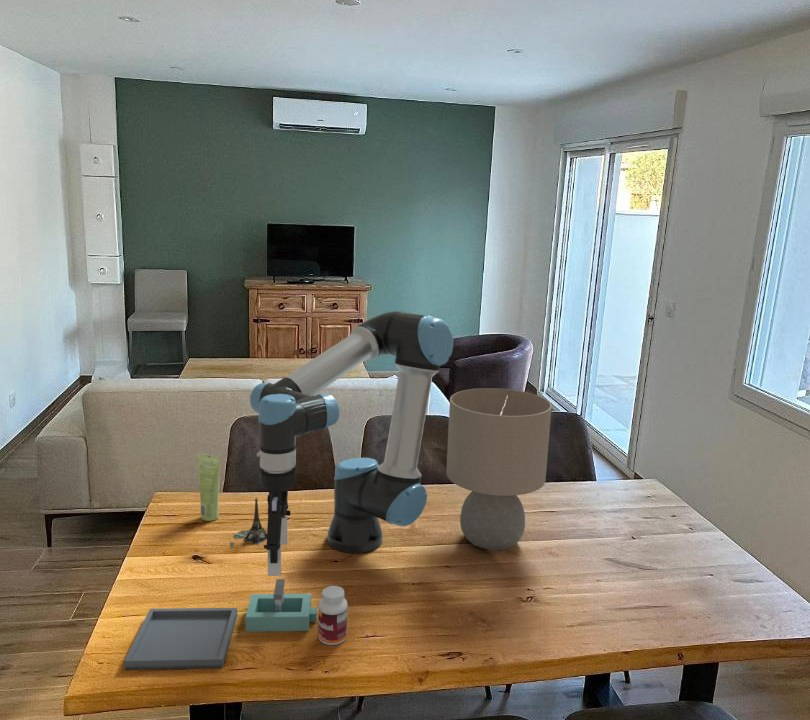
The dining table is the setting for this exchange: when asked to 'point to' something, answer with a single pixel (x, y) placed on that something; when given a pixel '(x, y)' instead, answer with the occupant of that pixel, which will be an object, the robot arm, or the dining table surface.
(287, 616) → the ring frame
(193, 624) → the tray
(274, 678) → the dining table surface
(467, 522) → the lamp
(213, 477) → the tube
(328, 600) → the pill bottle
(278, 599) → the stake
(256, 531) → the eiffel tower figurine
